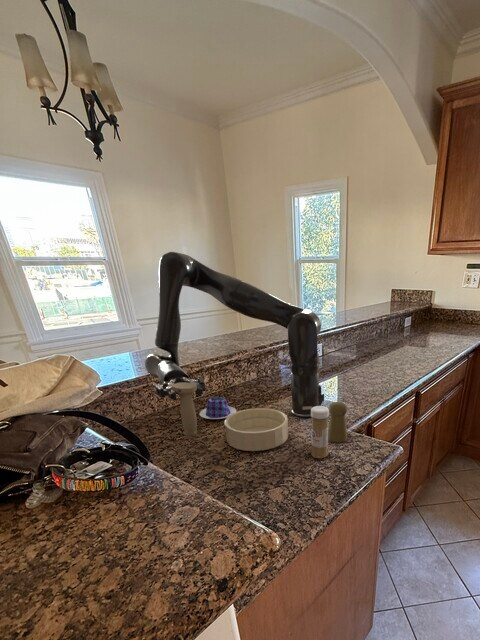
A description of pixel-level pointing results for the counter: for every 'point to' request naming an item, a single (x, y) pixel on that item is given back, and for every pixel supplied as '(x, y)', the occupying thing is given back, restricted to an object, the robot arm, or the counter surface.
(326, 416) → the sprinkles bottle
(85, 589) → the counter surface
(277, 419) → the bowl
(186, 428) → the handle
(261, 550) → the counter surface
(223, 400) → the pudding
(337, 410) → the green pepper mill
